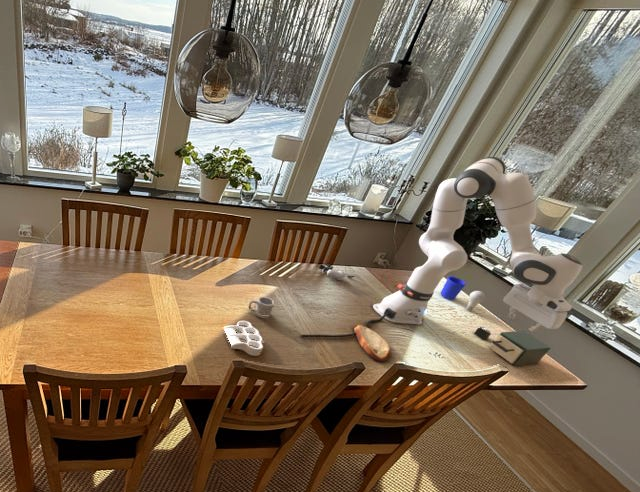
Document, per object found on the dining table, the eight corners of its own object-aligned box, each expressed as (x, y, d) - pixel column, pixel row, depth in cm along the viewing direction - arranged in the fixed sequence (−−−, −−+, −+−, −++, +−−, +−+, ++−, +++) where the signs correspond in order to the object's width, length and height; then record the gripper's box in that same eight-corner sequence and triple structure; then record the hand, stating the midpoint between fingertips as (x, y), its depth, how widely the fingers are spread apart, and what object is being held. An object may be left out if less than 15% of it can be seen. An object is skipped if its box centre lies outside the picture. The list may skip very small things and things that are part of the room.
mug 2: (451, 292, 216) (461, 276, 210) (457, 302, 206) (468, 286, 201) (434, 288, 217) (444, 272, 212) (440, 298, 208) (450, 281, 202)
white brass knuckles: (220, 326, 161) (253, 327, 164) (232, 356, 147) (269, 356, 150) (221, 320, 160) (256, 320, 162) (234, 349, 145) (272, 349, 148)
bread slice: (357, 326, 175) (360, 319, 173) (398, 347, 165) (402, 340, 163) (338, 340, 164) (342, 333, 162) (381, 364, 154) (386, 357, 152)
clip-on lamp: (341, 276, 221) (315, 269, 215) (346, 266, 219) (321, 258, 213) (354, 285, 211) (328, 278, 205) (360, 275, 209) (334, 267, 203)
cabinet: (514, 365, 165) (527, 349, 160) (489, 347, 174) (501, 332, 169) (537, 363, 169) (551, 347, 164) (511, 345, 178) (524, 330, 173)
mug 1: (269, 311, 176) (273, 298, 172) (270, 319, 171) (274, 306, 167) (246, 306, 177) (250, 294, 173) (247, 315, 171) (251, 302, 167)
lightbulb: (477, 314, 198) (490, 296, 192) (464, 312, 199) (477, 293, 192) (471, 308, 203) (484, 290, 197) (459, 305, 204) (471, 287, 198)
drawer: (502, 364, 163) (513, 351, 159) (480, 347, 171) (489, 335, 168) (532, 361, 168) (543, 348, 164) (509, 345, 176) (519, 333, 172)
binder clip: (482, 339, 179) (487, 332, 177) (473, 333, 182) (478, 326, 180) (487, 339, 180) (492, 332, 178) (478, 333, 183) (483, 326, 181)
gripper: (511, 281, 158) (491, 309, 166) (565, 310, 142) (539, 340, 150) (523, 281, 160) (502, 309, 168) (577, 309, 144) (551, 339, 152)
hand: (520, 324), depth 159 cm, fingers open, 7 cm apart
